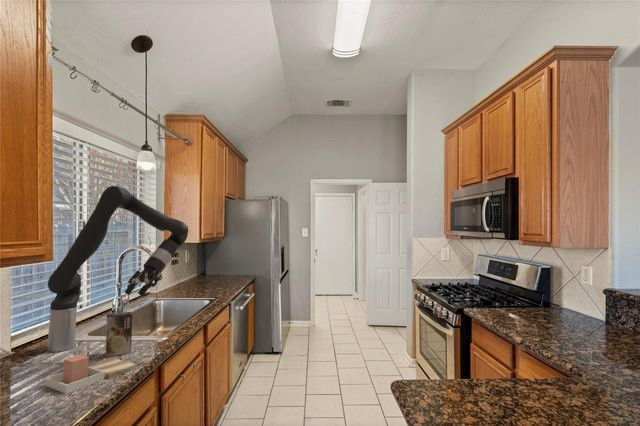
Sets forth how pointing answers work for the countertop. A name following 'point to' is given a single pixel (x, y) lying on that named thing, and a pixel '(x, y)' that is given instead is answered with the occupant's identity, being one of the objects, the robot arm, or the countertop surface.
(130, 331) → the coffee box
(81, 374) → the terracotta block
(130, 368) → the maple board
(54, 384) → the square frame
